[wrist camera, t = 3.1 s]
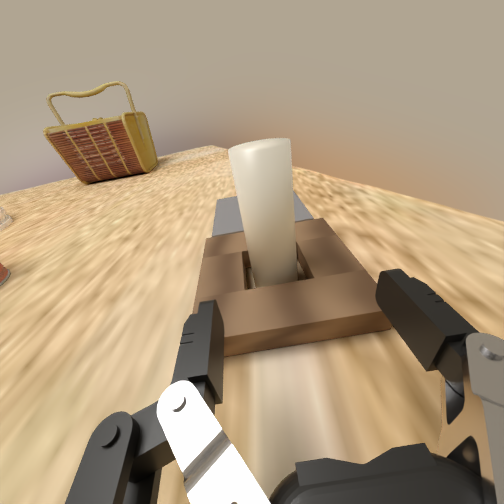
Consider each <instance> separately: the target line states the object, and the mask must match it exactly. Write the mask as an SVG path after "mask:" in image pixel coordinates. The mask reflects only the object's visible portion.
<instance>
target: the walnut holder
mask: <svg viewBox="0 0 504 504" xmlns="http://www.w3.org/2000/svg"><path fill="white" fill-rule="evenodd" d="M295 235H296V254H297V259H298V260H299V263H300V265H301V267H302V270H303V272H304V274H305V276H306V279H307V280H301V281H295V282H289V283H283V284H278V285H272V286H266V287H260V288H254V289H249V290H247V281H246V270H245V268H247V267H251V263H250V258H249V253H248V248H247V243H246V238H245V233H244V232H240V233H234V234H229V235H223V236H217V237H212V238H206V243H205V248H204V254H203V259H202V265H201V270H200V275H199V281H198V286H197V292H196V297H195V302H194V308H193V313H192V314H197V313H198V307H199V303H200V302H202V301H208V300H213V299H215V300H216V301H217V304H218V307H219V310H220V313H221V315H222V318H223V322H224V357H226V356H232V355H238V354H244V353H250V352H256V351H262V350H268V349H274V348H280V347H286V346H292V345H298V344H304V343H310V342H316V341H322V340H328V339H334V338H340V337H346V336H352V335H358V334H364V333H370V332H376V331H382V330H388V329H391V326H392V324H391V322H390V321H389V320H388V318H387V317H386V316H385V314H384V313H383V312H382V310H381V309H380V307H379V306H378V304H377V302H376V298H375V293H376V288H377V283H376V282H375V281H374V280H373V279H372V277H371V276H370V275H369V274H368V272H367V271H366V270H365V269H364V268H363V266H362V265H361V264H360V263H359V261H358V260H357V259H356V258H355V257H354V255H353V254H352V253H351V252H350V250H349V249H348V248H347V247H346V246H345V244H344V243H343V242H342V241H341V239H340V238H339V237H338V236H337V235H336V233H335V232H334V231H333V230H332V229H331V227H330V226H329V225H328V224H327V222H326V221H325V220H324V219H323V218H319V219H313V220H308V221H302V222H296V223H295Z"/></svg>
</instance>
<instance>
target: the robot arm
mask: <svg viewBox="0 0 504 504" xmlns="http://www.w3.org/2000/svg"><path fill="white" fill-rule="evenodd" d="M375 298H376V302H377V304H378V306H379V307H380V309H381V310H382V312H383V313H384V314H385V316H386V317H387V318H388V320H389V321H390V322H391V324H392V325H393V327H394V328H395V329H396V331H397V332H398V333H399V335H400V336H401V337H402V339H403V340H404V341H405V343H406V344H407V346H408V347H409V348H410V350H411V351H412V352H413V354H414V355H415V356H416V358H417V359H418V361H419V362H420V363H421V365H422V366H423V367H424V369H425V370H426V371H433V370H439V371H440V373H441V374H442V377H441V410H442V429H441V434H440V437H439V441H438V448H437V454H434V453H431V452H430V451H429V450H428V448H427V446H426V444H425V443H420V444H414V445H407V446H401V447H395V448H391V449H390V450H388V451H386V452H385V453H383V454H381V455H380V456H378V457H376V458H375V459H373V460H371V461H370V462H368V463H366V464H357V463H351V462H346V461H341V460H335V459H330V458H323V459H317V460H310V461H304V462H297V463H295V464H296V471H294V472H292V473H291V474H289V475H288V476H287V477H286V478H285V479H283V480H282V482H281V483H280V484H279V485H278V486H277V487H276V489H275V490H274V492H273V493H272V495H271V497H270V499H269V500H268V499H267V497H266V496H265V494H264V492H263V491H262V489H261V488H260V486H259V485H258V483H257V482H256V480H255V479H254V477H253V476H252V474H251V472H250V471H249V469H248V468H247V466H246V465H245V463H244V462H243V460H242V459H241V457H240V456H239V454H238V452H237V451H236V449H235V448H234V446H233V445H232V443H231V442H230V440H229V439H228V437H227V436H226V434H225V433H224V431H223V430H222V428H221V427H220V425H219V424H218V422H217V421H216V419H215V417H214V414H215V404H221V403H222V400H223V366H224V322H223V318H222V315H221V313H220V310H219V307H218V304H217V301H216V300H215V299H213V300H208V301H202V302H200V303H199V307H198V313H197V314H191V315H190V316H189V318H188V319H187V321H186V322H185V324H184V327H183V332H182V337H181V341H180V346H179V351H178V355H177V360H176V365H175V369H174V374H173V379H172V382H171V384H170V386H169V387H168V388H167V389H166V390H165V392H164V393H163V394H162V396H161V398H160V399H159V400H158V401H157V402H155V403H153V404H152V405H150V406H148V407H146V408H144V409H142V410H140V411H138V412H137V413H135V414H133V415H131V416H130V415H129V414H128V413H126V412H122V411H121V412H116V413H113V414H111V415H110V416H108V417H107V418H105V419H104V420H103V421H102V422H101V423H100V424H99V425H98V426H97V428H96V429H95V430H94V432H93V433H92V435H91V437H90V439H89V442H88V444H87V447H86V450H85V452H84V455H83V457H82V460H81V463H80V465H79V468H78V471H77V473H76V476H75V479H74V481H73V484H72V486H71V489H70V492H69V494H68V497H67V500H66V502H65V504H157V499H158V492H159V485H160V478H161V471H162V467H164V466H165V465H167V464H168V463H170V462H172V461H173V460H175V459H177V461H178V464H179V466H180V468H181V470H182V473H183V476H184V486H185V489H186V492H187V495H188V497H189V500H190V502H191V504H504V340H502V339H500V338H498V337H496V336H493V335H490V334H486V333H480V332H478V331H477V330H476V329H475V328H474V327H473V326H472V325H470V324H469V323H468V322H467V321H466V320H465V319H464V318H463V317H462V316H461V315H460V314H458V313H457V312H456V311H455V310H454V309H453V308H452V307H451V306H450V305H449V304H447V303H446V302H444V300H443V299H442V298H441V297H440V296H439V295H436V293H435V292H434V291H433V290H432V289H431V288H430V287H429V286H428V285H427V284H425V283H423V282H421V281H420V280H418V279H416V278H414V277H412V278H410V277H409V276H408V275H407V274H406V273H405V272H404V271H402V270H401V269H392V270H386V271H382V272H380V275H379V279H378V284H377V288H376V293H375Z"/></svg>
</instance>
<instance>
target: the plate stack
mask: <svg viewBox="0 0 504 504" xmlns="http://www.w3.org/2000/svg"><path fill="white" fill-rule="evenodd" d="M5 214H6V211H5V210H4V208H3V207H0V231H2V230H3V229H5V228H6V227H8V226H9V225H10V224H11V223H12V222H13V219H12V218H11V217H10V216H9V215H5Z"/></svg>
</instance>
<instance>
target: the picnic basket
mask: <svg viewBox="0 0 504 504" xmlns="http://www.w3.org/2000/svg"><path fill="white" fill-rule="evenodd" d="M114 85H121V86H123V87H124V89H125V91H126V94H127V97H128V100H129V103H130V106H131V110H132V112H126V113H123V114H122V116H116V117H110V118H105V119H103V118H99V119H96V118H93V120H92V121H89V122H84V123H78V124H69V125H65V124H64V122H63V121H62V119H61V118H60V116H59V114H58V113H57V111H56V110H55V108H54V106H53V105H52V103H51V99H52V97H55V96H61V95H66V96H70V97H79V98H80V97H89V96H93V95H96V94H98V93H100V92H102V91H103V90H104V89H105V88H107V87H109V86H114ZM46 100H47V104H48V106H49V107H50V109H51V110H52V112H53V113H54V115H55V117H56V118H57V120H58V121H59V123H60V124H61V126H52V127H46V128H44V130H43V133H44V135H45V137H46V139H47V140H48V141H49V143H50V144H51V145H52V146H53V148H54V149H55V150H56V151H57V152H58V154H59V155H60V156H61V158H62V159H63V160H64V162H65V163H66V164H67V165H68V167H69V168H70V169H71V170H72V172H73V173H74V174H75V176H76V177H77V178H78V179H79V180H80V181H81V182H82V183H84V184H90V183H92V182H96V181H101V180H106V179H111V178H117V177H122V176H127V175H132V174H138V173H143V172H146V173H148V172H150V171H151V170H152V169H153V168H154V167H155V166H157V163H158V160H157V155H156V152H155V147H154V144H153V140H152V136H151V132H150V129H149V125H148V121H147V118H146V115H145V114H144V113H143V112H136V110H135V107H134V104H133V101H132V98H131V94H130V91H129V89H128V87H127V86H126V84H124V83H122V82H120V81H117V82H111V83H106V84H103V85H101V86H99V87H97V88H95V89H93V90H89V91H85V92H57V93H52V94H49V95H48V97H47V98H46Z"/></svg>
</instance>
